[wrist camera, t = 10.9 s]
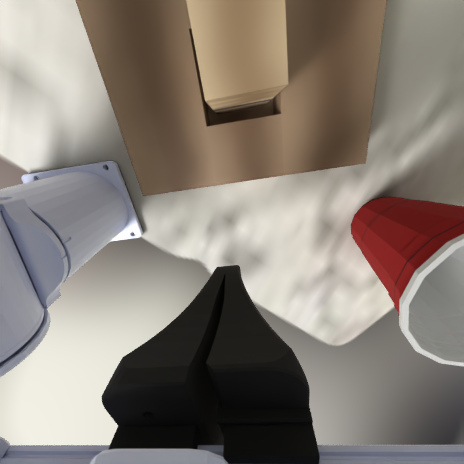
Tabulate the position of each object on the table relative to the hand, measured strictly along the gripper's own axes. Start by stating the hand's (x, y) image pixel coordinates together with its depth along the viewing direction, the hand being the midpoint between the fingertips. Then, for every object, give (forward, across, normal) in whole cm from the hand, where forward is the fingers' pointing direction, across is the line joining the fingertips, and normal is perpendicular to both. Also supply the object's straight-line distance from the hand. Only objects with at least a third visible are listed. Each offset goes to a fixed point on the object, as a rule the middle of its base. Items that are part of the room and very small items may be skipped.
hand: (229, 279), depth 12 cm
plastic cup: (+11, -15, +3) cm, 19 cm away
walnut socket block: (+10, -2, -11) cm, 15 cm away
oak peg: (+10, -2, -12) cm, 15 cm away
